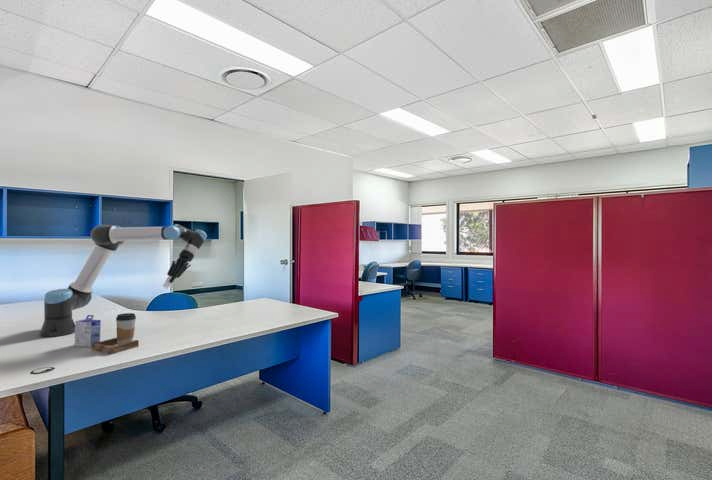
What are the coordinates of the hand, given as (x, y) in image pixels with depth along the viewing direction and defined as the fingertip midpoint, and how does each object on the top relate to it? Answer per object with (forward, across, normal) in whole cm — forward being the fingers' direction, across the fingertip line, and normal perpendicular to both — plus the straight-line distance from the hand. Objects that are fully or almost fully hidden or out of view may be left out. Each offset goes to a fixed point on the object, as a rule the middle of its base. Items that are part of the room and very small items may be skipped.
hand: (165, 287), depth 198 cm
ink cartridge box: (+40, +12, +9) cm, 43 cm away
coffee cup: (+35, -5, +4) cm, 36 cm away
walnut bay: (+38, -5, +8) cm, 39 cm away
